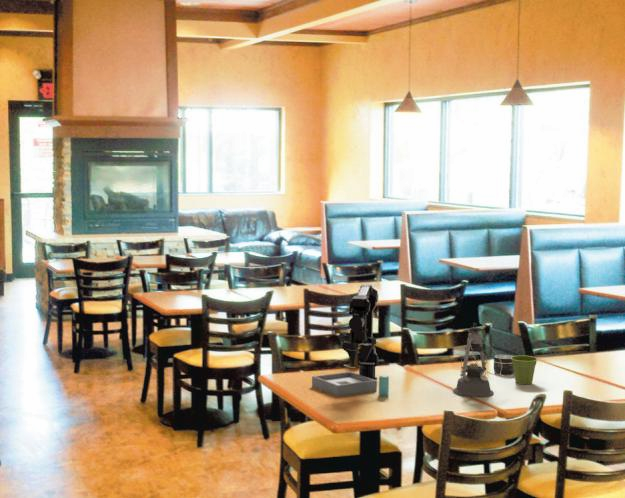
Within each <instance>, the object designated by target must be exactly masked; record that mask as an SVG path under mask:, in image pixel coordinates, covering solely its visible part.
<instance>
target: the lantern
mask: <svg viewBox="0 0 625 498" xmlns="http://www.w3.org/2000/svg"><path fill="white" fill-rule="evenodd" d="M474 325H475V326H474ZM476 325H477V323H476V322H475V323H473V327H470V328H468V331H470V332H468V337H467V339H466V346H465V348H464V350H465V354H464V356H463V355H462V356H461V358H463V359H461V361H460V362H461V363H460V365H461V367H460V368H461V369H460V378H458V379H457V382H456V387H455V388H454V389H452V393H453V394H455V395H456V396H457V395H458V396H460V397H466V398H487V397H491V396H493V395H494V393H495V392H494V391H493V389H491V385H490V381H489V378H488V377H487V376H486V375H487V374H490V375H493V376H498V377H499V376H500V375H502V374H501V372H500V374H494V373H491V372H489V371H487V367H486V366H487V364H488V358H487V356H486V355H485V354H484V350H485V349H484V346H483V345H484V344H485V345H487V346H488V347H489V348H490V349H492V350H493V352H494V353H495V354H496V355H497V356H498V355H499V354H497V353H496V351H495V350H494V349H493V347H492V346H491V345H489V344H488V343H486V341H485V339H484V335H482V333H480V331H481V328H479V327H477V326H476ZM483 342H484V344H483ZM470 352H472V353H470ZM474 352H475V353H474ZM477 353H478V354H479V355H480V359H479V358H477V357H475V354H477ZM472 355H473V356H472ZM470 356H472V357H473V358H474V361H475V363H473V362H469V358H470ZM485 358H486V359H485ZM498 358H499V357H498ZM476 359H477V360H479V361H480V362H481V365H480V364H479V363H478V362H477V360H476ZM499 359H500V358H499ZM462 360H463V362H462ZM500 361H501V360H500ZM462 363H463V364H462ZM468 363H469V365H468ZM501 365H502V362H501ZM501 369H502V368H501Z"/></svg>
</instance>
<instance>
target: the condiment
mask: <svg viewBox="0 0 625 498" xmlns="http://www.w3.org/2000/svg"><path fill="white" fill-rule="evenodd" d="M357 344H358V343H357ZM360 347H361V346H360V345H359V346H358V349H357V350H358V352H359V349H360ZM357 356H358V353H357ZM343 366H345V367H347V368H350V369H355V368H360V365H358V358H357V357H356V361H355V364H354V365H351V362H350V361H349V363H348V364H343Z"/></svg>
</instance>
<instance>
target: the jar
mask: <svg viewBox="0 0 625 498" xmlns="http://www.w3.org/2000/svg"><path fill="white" fill-rule="evenodd" d="M497 355H498V356H497ZM513 356H514V355H511V354H510V355H509V354H495V355H494V356H493V371H494V373H495V374H496V375H499V374H500V372H501V374H500V375H504V376H508V375H509V376H510V375H514V367H513V363H512V359H511V357H513ZM498 357H499V358H500V359H499V358H498ZM500 360H501V361H500ZM501 362H502V365H501ZM501 368H502V369H501Z"/></svg>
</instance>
